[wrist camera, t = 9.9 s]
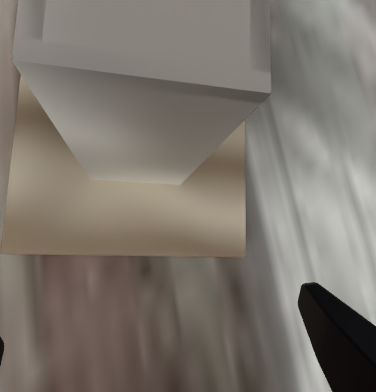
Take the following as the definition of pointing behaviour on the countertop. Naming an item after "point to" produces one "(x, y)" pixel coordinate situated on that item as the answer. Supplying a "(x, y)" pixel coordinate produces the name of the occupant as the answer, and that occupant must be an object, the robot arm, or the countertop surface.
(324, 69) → the countertop surface
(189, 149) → the tall white carton
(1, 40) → the countertop surface
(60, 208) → the flat beige box
